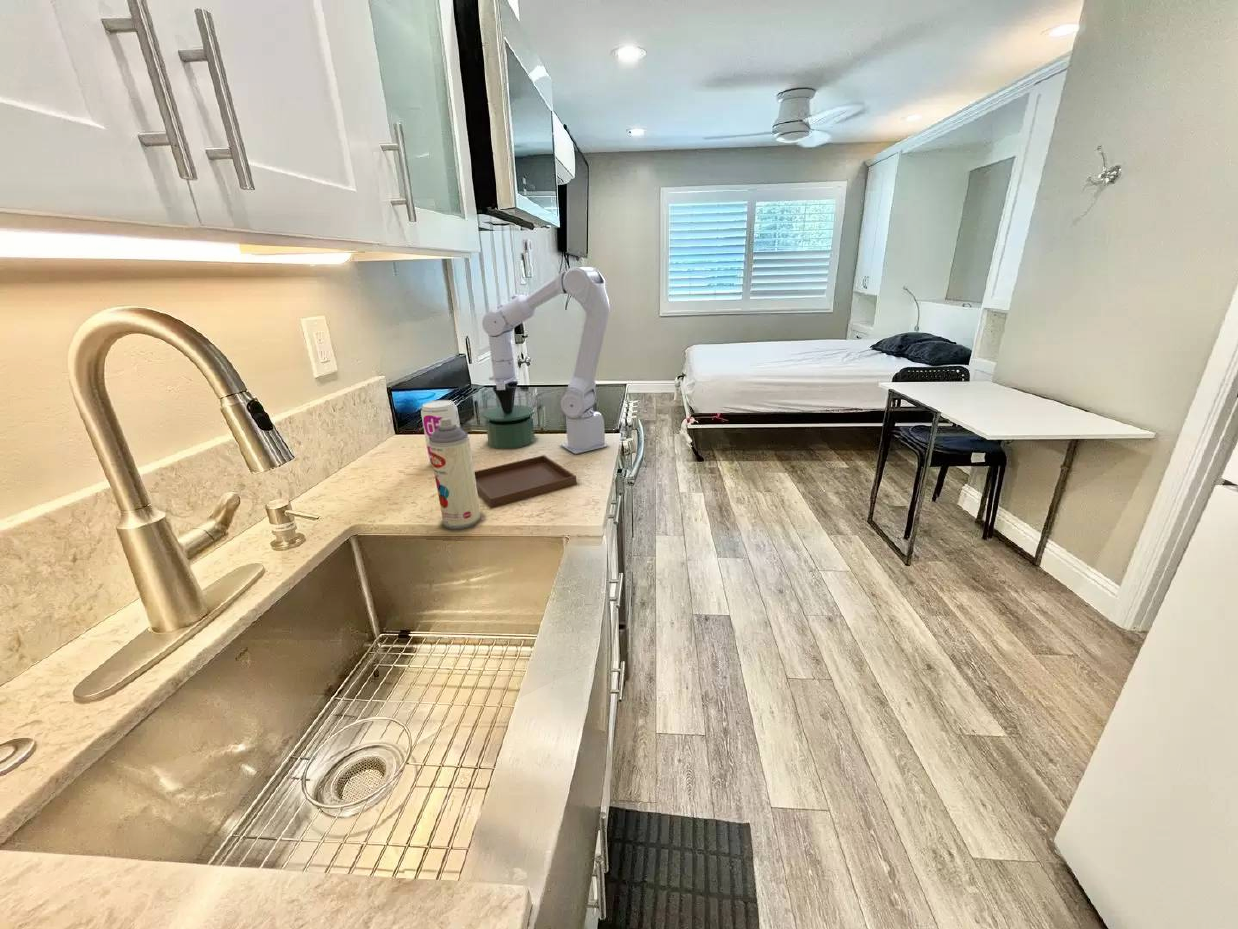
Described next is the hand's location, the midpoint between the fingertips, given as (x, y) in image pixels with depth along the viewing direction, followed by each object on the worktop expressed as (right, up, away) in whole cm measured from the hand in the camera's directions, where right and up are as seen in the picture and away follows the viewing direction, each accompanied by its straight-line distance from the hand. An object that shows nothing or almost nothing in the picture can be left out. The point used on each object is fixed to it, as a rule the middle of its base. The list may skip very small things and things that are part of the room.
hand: (508, 410), depth 131 cm
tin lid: (0, -1, 0) cm, 1 cm away
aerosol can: (0, -25, -39) cm, 46 cm away
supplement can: (-12, -14, -11) cm, 22 cm away
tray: (+8, -19, -23) cm, 31 cm away
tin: (0, -8, +3) cm, 9 cm away
